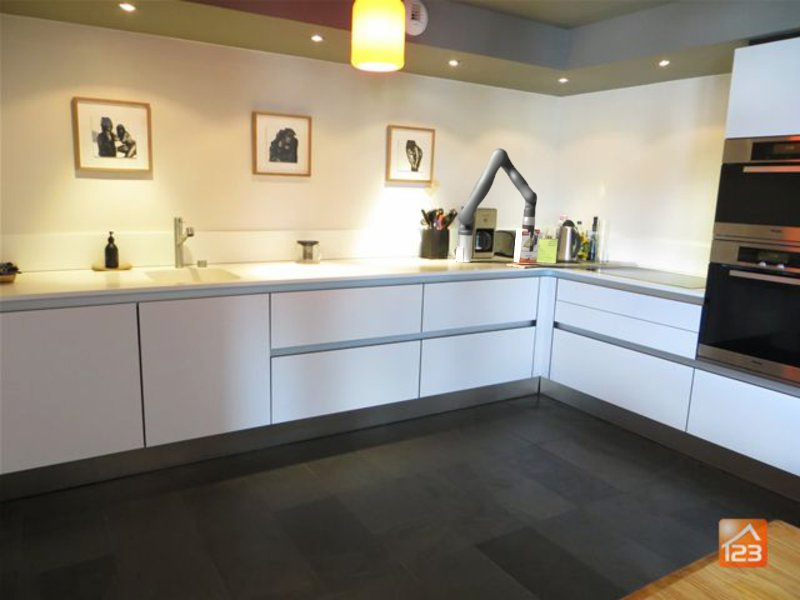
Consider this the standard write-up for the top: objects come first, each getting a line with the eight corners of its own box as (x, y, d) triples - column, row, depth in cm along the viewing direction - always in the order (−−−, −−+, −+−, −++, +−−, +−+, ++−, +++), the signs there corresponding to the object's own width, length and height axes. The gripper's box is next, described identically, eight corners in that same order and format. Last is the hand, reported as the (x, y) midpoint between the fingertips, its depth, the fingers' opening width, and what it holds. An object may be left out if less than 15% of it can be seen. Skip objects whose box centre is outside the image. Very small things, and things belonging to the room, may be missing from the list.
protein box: (555, 263, 386) (558, 240, 383) (532, 261, 391) (534, 238, 388) (556, 261, 396) (558, 239, 393) (533, 260, 400) (535, 237, 398)
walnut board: (524, 268, 350) (524, 266, 350) (506, 265, 360) (506, 263, 360) (544, 266, 363) (544, 265, 363) (526, 264, 373) (526, 262, 373)
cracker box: (519, 263, 356) (522, 229, 352) (513, 262, 361) (516, 228, 357) (537, 263, 361) (540, 229, 358) (531, 261, 367) (534, 228, 363)
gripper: (515, 223, 360) (513, 250, 363) (534, 225, 349) (532, 252, 352) (523, 223, 365) (520, 249, 368) (541, 225, 354) (539, 252, 357)
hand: (526, 251), depth 360 cm, fingers closed on cracker box, 6 cm apart
